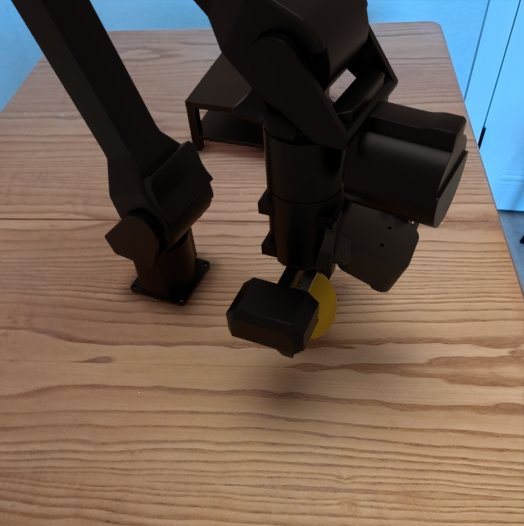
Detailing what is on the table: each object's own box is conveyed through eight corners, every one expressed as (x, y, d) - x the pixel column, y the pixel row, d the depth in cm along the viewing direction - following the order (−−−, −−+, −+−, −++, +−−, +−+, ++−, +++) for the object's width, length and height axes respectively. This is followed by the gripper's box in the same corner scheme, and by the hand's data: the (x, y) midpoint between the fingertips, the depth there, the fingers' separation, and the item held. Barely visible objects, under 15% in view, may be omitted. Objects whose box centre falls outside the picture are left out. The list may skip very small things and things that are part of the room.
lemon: (268, 324, 56) (263, 265, 50) (318, 304, 58) (319, 244, 51) (293, 364, 53) (292, 308, 47) (346, 342, 54) (351, 284, 48)
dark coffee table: (296, 166, 71) (295, 102, 65) (193, 150, 75) (182, 88, 68) (329, 98, 80) (331, 36, 74) (236, 87, 84) (230, 27, 77)
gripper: (378, 298, 34) (359, 427, 46) (447, 127, 44) (416, 271, 56) (210, 254, 37) (234, 387, 50) (310, 104, 47) (309, 246, 60)
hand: (306, 318), depth 54 cm, fingers open, 9 cm apart
